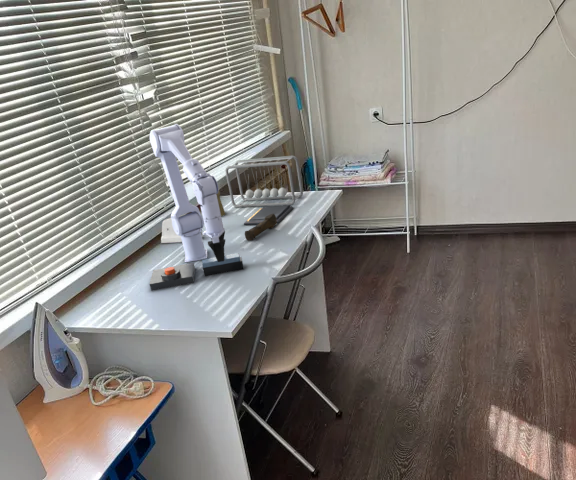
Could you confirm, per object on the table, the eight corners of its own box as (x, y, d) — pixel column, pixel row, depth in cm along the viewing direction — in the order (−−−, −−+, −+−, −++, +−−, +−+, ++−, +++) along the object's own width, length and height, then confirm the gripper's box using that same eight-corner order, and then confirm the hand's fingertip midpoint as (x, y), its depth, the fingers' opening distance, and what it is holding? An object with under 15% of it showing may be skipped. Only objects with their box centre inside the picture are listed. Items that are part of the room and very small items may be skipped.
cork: (224, 216, 257) (219, 190, 251) (210, 218, 258) (204, 192, 252) (226, 212, 262) (220, 186, 257) (212, 214, 263) (206, 188, 257)
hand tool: (253, 241, 222) (251, 229, 220) (245, 240, 225) (243, 228, 222) (282, 224, 235) (280, 212, 233) (274, 223, 237) (272, 212, 235)
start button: (166, 272, 198) (164, 268, 197) (175, 270, 198) (174, 266, 197) (165, 276, 195) (164, 271, 195) (175, 274, 195) (173, 269, 195)
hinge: (160, 243, 238) (157, 216, 236) (166, 243, 243) (164, 217, 240) (198, 241, 233) (196, 214, 231) (204, 240, 237) (201, 214, 235)
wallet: (276, 219, 235) (241, 220, 241) (277, 224, 236) (242, 225, 242) (294, 203, 250) (260, 205, 256) (294, 207, 251) (261, 209, 257)
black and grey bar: (205, 272, 203) (202, 259, 201) (243, 265, 203) (240, 252, 201) (204, 276, 199) (201, 263, 197) (243, 269, 199) (240, 256, 197)
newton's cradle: (232, 208, 266) (223, 166, 257) (242, 200, 274) (234, 160, 265) (295, 205, 254) (288, 161, 245) (304, 197, 262) (298, 155, 253)
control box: (155, 276, 207) (151, 265, 205) (195, 269, 207) (192, 258, 205) (151, 291, 196) (148, 279, 194) (193, 283, 196) (191, 271, 194)
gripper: (200, 212, 198) (209, 252, 205) (198, 225, 185) (208, 267, 192) (221, 208, 198) (230, 248, 205) (221, 221, 185) (230, 263, 192)
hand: (221, 257), depth 199 cm, fingers open, 7 cm apart
